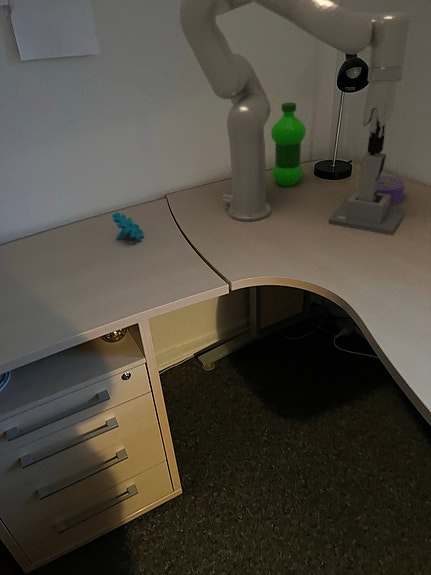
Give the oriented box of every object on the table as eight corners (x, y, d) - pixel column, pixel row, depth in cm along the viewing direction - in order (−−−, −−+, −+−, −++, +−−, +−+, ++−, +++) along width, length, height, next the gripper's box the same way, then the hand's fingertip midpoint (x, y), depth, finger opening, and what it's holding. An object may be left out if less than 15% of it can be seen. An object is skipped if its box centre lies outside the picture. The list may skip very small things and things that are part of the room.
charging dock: (328, 223, 128) (330, 202, 125) (344, 204, 138) (346, 184, 134) (391, 235, 120) (395, 213, 117) (404, 213, 130) (408, 192, 127)
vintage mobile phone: (373, 218, 126) (387, 124, 112) (355, 215, 128) (366, 122, 114) (377, 213, 128) (391, 120, 115) (359, 210, 131) (371, 118, 117)
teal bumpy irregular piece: (143, 240, 123) (112, 217, 120) (129, 256, 125) (98, 233, 122) (147, 227, 133) (118, 205, 130) (135, 242, 135) (106, 220, 132)
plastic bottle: (305, 178, 157) (309, 100, 143) (298, 190, 149) (301, 108, 135) (276, 176, 160) (277, 100, 146) (268, 187, 152) (268, 108, 138)
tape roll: (355, 202, 139) (357, 186, 136) (367, 188, 147) (369, 172, 144) (396, 208, 133) (399, 192, 131) (406, 193, 142) (409, 178, 139)
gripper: (377, 67, 115) (368, 141, 126) (359, 79, 105) (350, 159, 115) (409, 68, 112) (397, 144, 122) (393, 80, 101) (381, 163, 112)
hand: (374, 151), depth 119 cm, fingers closed on vintage mobile phone, 1 cm apart
